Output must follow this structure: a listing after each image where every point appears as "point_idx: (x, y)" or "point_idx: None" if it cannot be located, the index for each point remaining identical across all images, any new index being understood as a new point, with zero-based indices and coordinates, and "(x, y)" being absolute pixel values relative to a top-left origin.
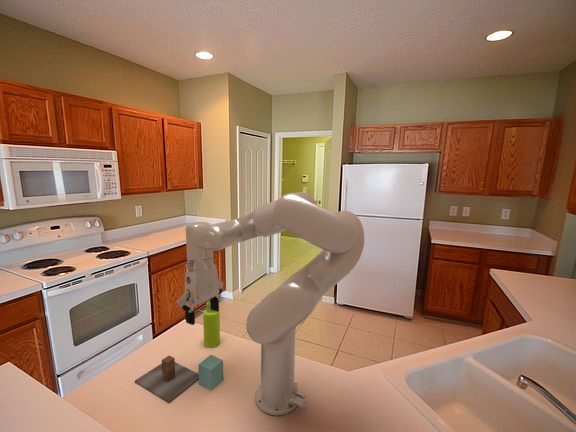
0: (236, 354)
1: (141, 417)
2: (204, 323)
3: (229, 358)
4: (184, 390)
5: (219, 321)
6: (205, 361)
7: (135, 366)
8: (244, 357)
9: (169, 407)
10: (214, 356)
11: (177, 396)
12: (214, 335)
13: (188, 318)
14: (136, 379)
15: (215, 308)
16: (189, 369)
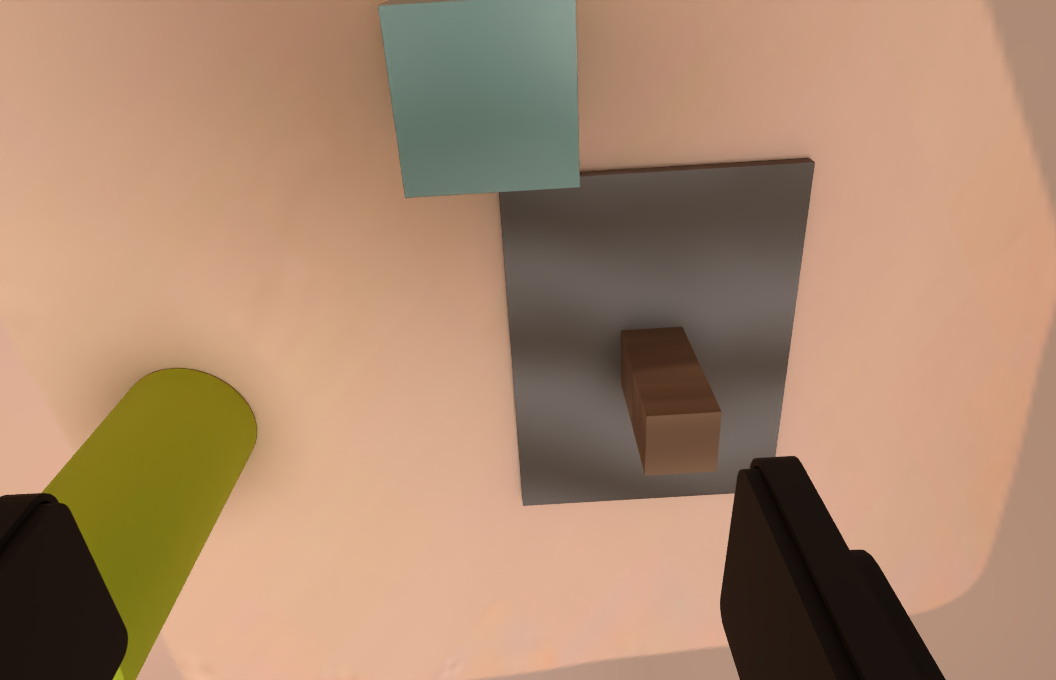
0: (111, 152)
1: (964, 206)
2: (176, 589)
3: (194, 164)
4: (675, 167)
5: None
6: (511, 157)
7: (671, 588)
8: (74, 51)
9: (833, 124)
10: (398, 144)
11: (738, 162)
12: (157, 436)
13: (902, 637)
14: None
15: (44, 584)
16: (510, 313)
